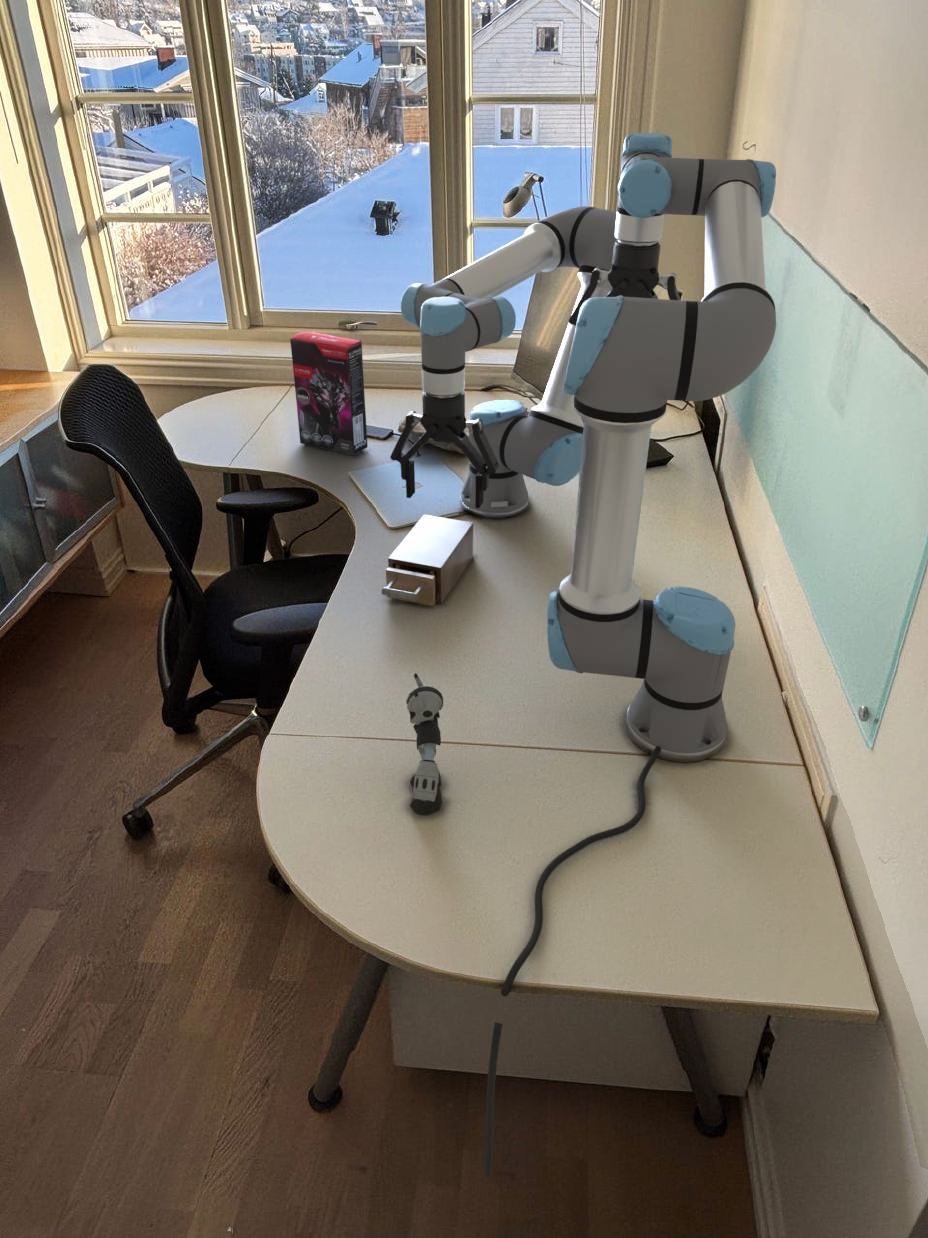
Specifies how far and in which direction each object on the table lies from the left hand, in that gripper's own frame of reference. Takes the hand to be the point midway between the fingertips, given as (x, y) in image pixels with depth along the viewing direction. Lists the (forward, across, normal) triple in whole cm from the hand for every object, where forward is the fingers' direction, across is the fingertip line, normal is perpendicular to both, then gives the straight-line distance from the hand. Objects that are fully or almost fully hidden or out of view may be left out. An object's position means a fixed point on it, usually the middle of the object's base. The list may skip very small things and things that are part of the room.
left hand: (444, 500), depth 173 cm
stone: (+16, +22, -59) cm, 65 cm away
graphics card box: (+16, +46, -50) cm, 70 cm away
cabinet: (+16, +2, +2) cm, 16 cm away
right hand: (-24, -30, -11) cm, 40 cm away
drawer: (+15, +2, +8) cm, 17 cm away
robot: (+15, -17, +59) cm, 64 cm away
